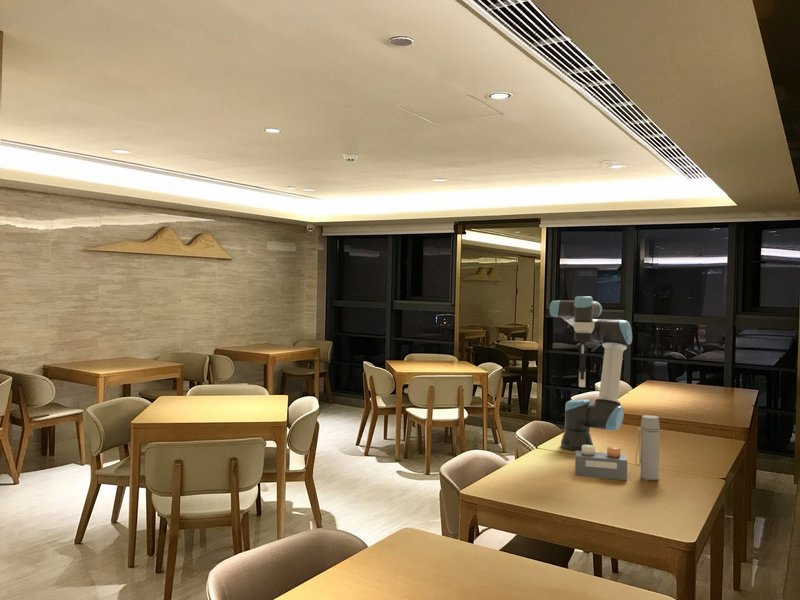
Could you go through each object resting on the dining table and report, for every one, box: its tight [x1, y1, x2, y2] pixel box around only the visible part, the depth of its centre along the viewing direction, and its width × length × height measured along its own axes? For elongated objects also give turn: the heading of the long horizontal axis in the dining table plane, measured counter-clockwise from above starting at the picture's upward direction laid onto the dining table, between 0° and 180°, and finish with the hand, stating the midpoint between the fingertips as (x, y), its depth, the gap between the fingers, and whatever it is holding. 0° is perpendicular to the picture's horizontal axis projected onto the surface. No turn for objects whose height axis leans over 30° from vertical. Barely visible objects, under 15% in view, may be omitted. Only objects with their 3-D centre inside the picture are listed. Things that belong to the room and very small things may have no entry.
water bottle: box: [635, 414, 661, 481], centre depth 259 cm, size 9×8×25 cm
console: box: [574, 451, 628, 481], centre depth 263 cm, size 10×20×8 cm, turn 74°
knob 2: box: [606, 446, 621, 458], centre depth 262 cm, size 5×5×11 cm
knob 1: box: [582, 444, 596, 455], centre depth 265 cm, size 5×5×11 cm
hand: (582, 386), depth 276 cm, fingers closed
